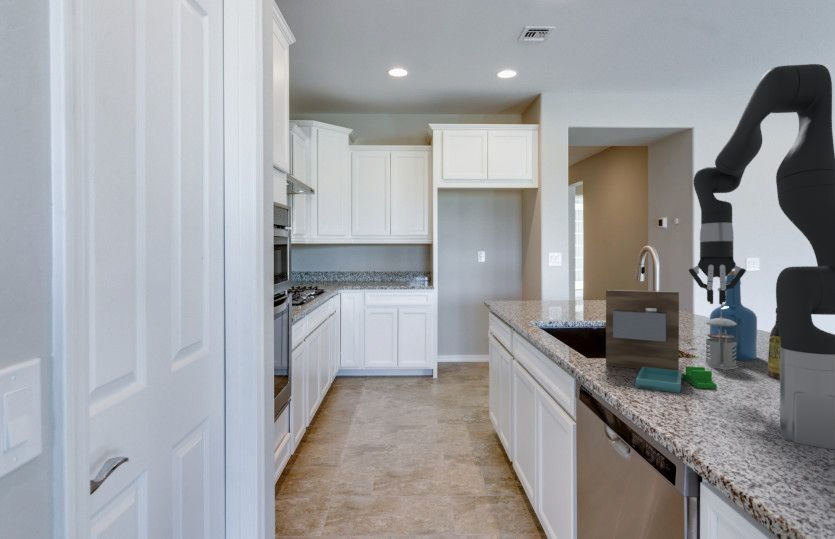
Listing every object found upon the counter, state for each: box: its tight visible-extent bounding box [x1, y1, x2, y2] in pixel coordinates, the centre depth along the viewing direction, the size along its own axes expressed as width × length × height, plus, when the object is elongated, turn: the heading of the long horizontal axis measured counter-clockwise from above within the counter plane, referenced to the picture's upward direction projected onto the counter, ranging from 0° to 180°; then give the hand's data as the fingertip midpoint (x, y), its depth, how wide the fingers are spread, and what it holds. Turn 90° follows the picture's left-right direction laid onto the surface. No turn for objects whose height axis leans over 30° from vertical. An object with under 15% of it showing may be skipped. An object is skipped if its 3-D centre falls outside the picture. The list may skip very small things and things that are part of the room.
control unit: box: [613, 308, 667, 342], centre depth 132 cm, size 6×14×9 cm, turn 57°
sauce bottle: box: [767, 307, 781, 380], centre depth 123 cm, size 7×6×20 cm
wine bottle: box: [709, 270, 758, 361], centre depth 149 cm, size 14×13×30 cm
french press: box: [703, 287, 739, 370], centre depth 137 cm, size 10×12×25 cm
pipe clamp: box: [682, 365, 718, 390], centre depth 118 cm, size 11×4×5 cm
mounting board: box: [605, 289, 680, 371], centre depth 135 cm, size 2×20×24 cm, turn 58°
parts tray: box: [635, 367, 683, 394], centre depth 119 cm, size 16×10×2 cm, turn 147°
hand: (716, 303), depth 119 cm, fingers closed
